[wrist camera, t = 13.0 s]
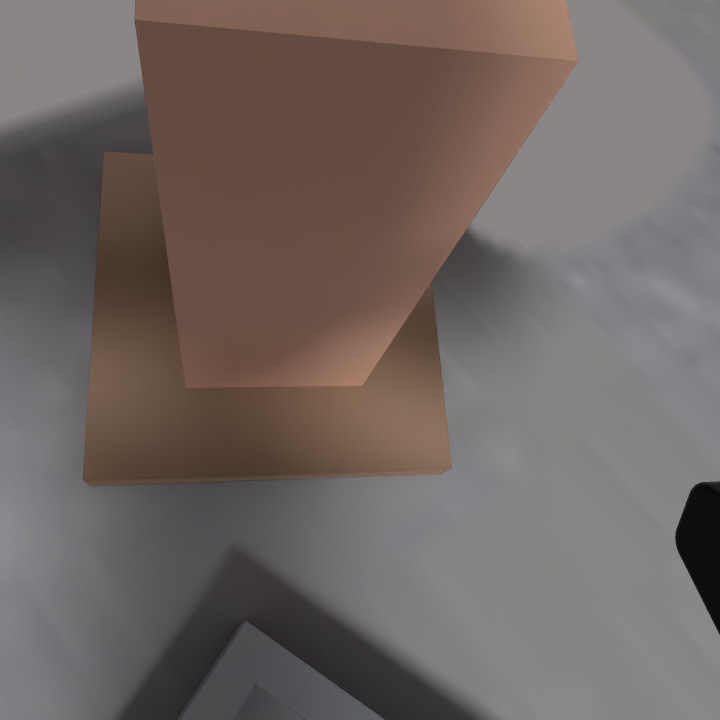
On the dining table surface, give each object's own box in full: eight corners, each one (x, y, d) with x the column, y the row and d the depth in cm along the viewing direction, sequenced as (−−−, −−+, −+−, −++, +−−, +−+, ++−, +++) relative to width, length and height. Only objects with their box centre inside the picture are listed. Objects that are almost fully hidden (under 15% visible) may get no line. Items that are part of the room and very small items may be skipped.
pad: (441, 473, 21) (451, 467, 20) (89, 485, 19) (82, 479, 18) (411, 186, 24) (419, 170, 23) (108, 170, 22) (103, 151, 21)
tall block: (362, 385, 20) (578, 61, 8) (185, 387, 19) (134, 20, 7) (350, 234, 22) (516, -225, 10) (187, 228, 21) (148, -292, 9)
